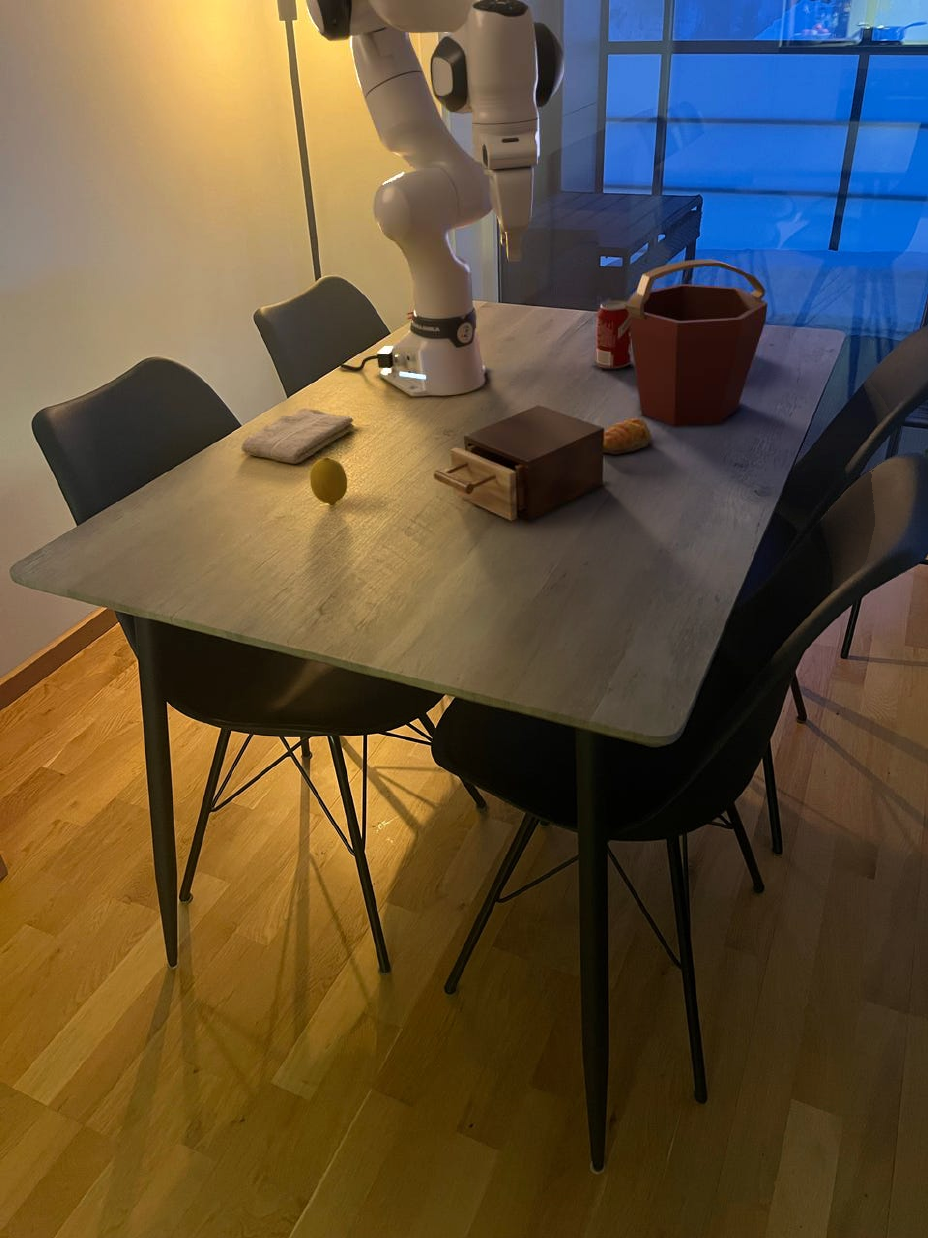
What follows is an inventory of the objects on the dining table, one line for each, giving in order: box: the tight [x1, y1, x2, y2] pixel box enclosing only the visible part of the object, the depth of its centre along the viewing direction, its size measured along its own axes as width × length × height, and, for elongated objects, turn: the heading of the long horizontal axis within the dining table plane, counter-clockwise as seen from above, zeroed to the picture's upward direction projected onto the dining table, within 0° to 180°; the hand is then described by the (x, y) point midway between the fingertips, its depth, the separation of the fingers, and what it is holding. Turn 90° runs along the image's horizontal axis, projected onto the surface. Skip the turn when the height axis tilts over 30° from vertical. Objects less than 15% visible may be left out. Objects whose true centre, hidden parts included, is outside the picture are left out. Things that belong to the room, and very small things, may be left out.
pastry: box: [603, 417, 653, 455], centre depth 155 cm, size 9×7×4 cm
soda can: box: [595, 300, 632, 370], centre depth 185 cm, size 7×7×12 cm
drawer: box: [433, 445, 526, 522], centre depth 140 cm, size 20×13×7 cm, turn 131°
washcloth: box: [241, 408, 355, 465], centre depth 165 cm, size 12×18×3 cm, turn 150°
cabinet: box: [463, 404, 605, 521], centre depth 143 cm, size 16×14×9 cm
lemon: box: [309, 456, 348, 506], centre depth 143 cm, size 6×6×8 cm
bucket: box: [625, 259, 769, 427], centre depth 162 cm, size 24×22×25 cm
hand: (510, 252), depth 133 cm, fingers open, 8 cm apart
